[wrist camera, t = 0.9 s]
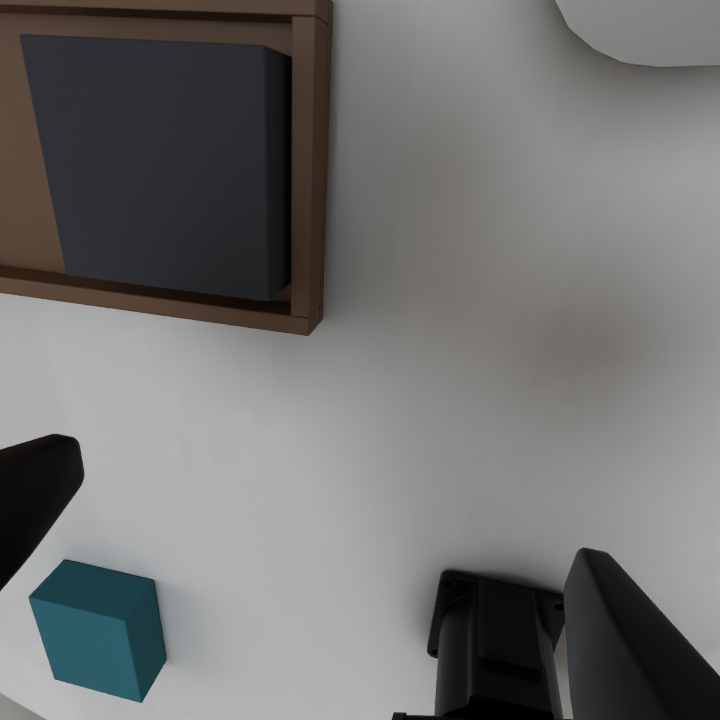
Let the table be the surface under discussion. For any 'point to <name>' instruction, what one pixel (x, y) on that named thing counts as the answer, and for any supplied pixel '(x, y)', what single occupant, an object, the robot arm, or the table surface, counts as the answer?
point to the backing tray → (169, 23)
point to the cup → (648, 30)
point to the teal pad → (100, 629)
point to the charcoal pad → (167, 160)
